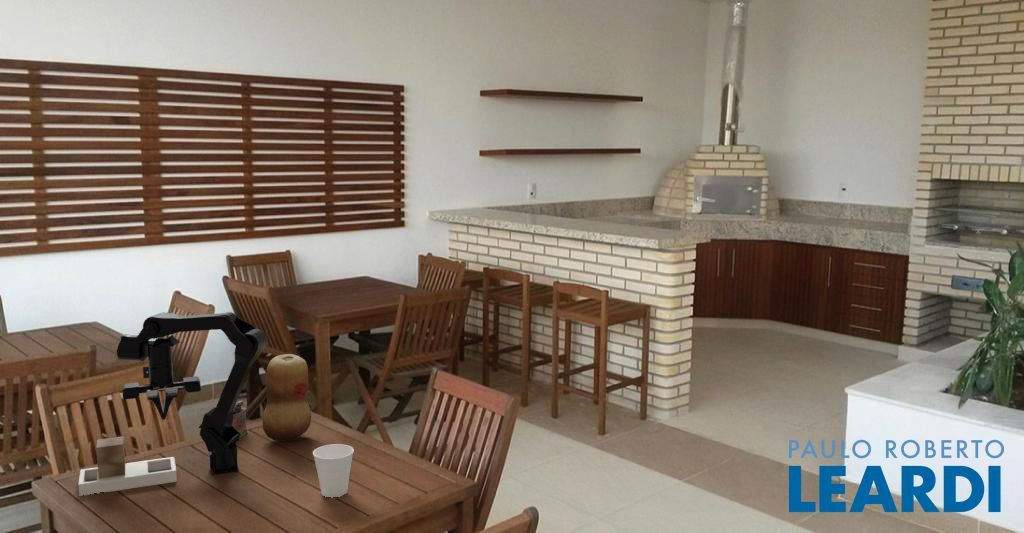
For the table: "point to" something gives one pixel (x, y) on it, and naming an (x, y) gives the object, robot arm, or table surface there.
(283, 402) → the butternut squash
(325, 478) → the cup
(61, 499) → the table surface
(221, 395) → the robot arm
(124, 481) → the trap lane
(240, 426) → the lighter
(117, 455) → the walnut block
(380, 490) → the table surface
